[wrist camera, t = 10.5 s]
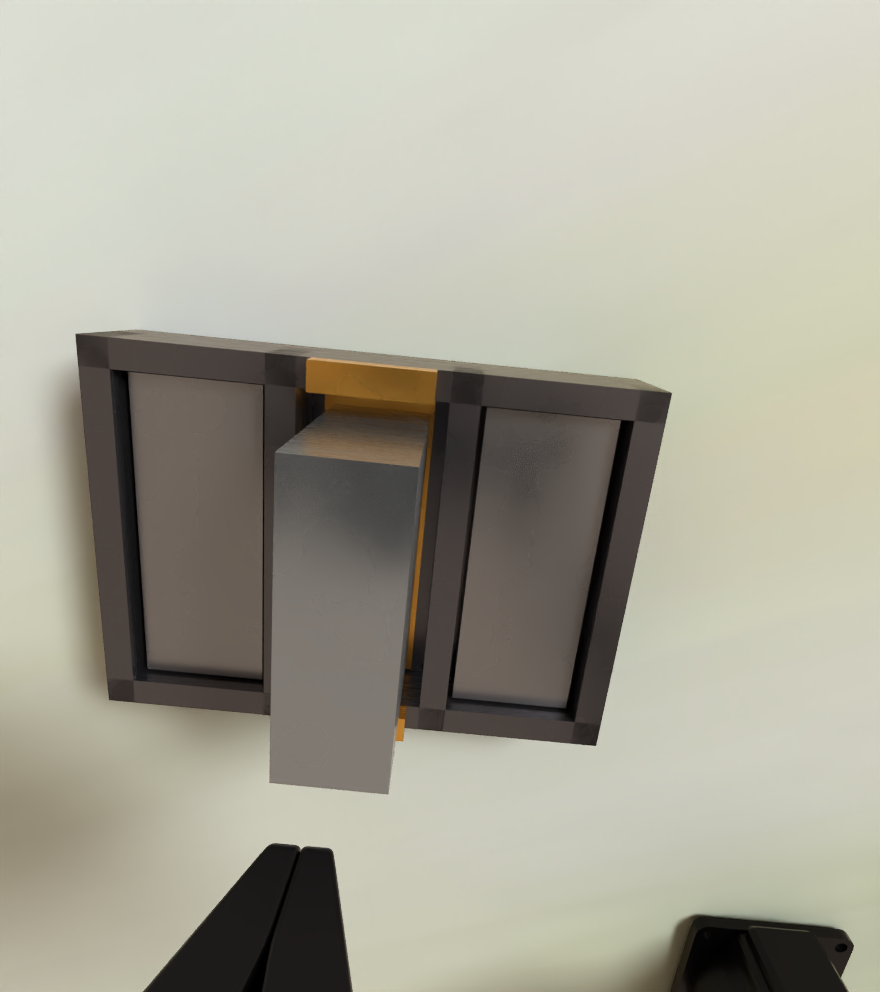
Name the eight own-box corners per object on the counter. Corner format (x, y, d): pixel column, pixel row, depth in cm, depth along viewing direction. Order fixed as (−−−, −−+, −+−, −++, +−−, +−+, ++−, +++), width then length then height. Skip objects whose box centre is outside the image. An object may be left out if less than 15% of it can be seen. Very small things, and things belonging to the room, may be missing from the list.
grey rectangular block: (407, 652, 20) (388, 794, 14) (323, 643, 19) (269, 782, 14) (430, 413, 17) (418, 467, 11) (334, 403, 17) (274, 451, 11)
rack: (576, 687, 21) (600, 759, 18) (155, 646, 21) (97, 712, 18) (637, 379, 18) (680, 396, 14) (136, 329, 18) (60, 334, 14)
